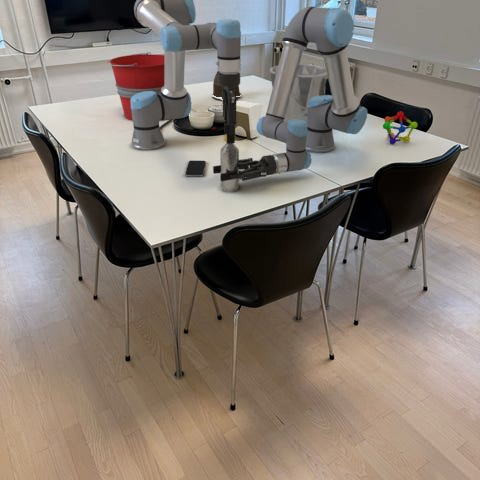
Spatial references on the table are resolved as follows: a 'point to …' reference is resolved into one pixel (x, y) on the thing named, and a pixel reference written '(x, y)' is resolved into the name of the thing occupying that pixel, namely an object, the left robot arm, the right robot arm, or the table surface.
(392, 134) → the educational toy
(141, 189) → the table surface
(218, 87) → the bell
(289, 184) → the table surface
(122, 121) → the table surface
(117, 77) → the bucket
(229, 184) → the bottle
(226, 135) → the cap
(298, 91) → the bucket
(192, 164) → the smartphone
